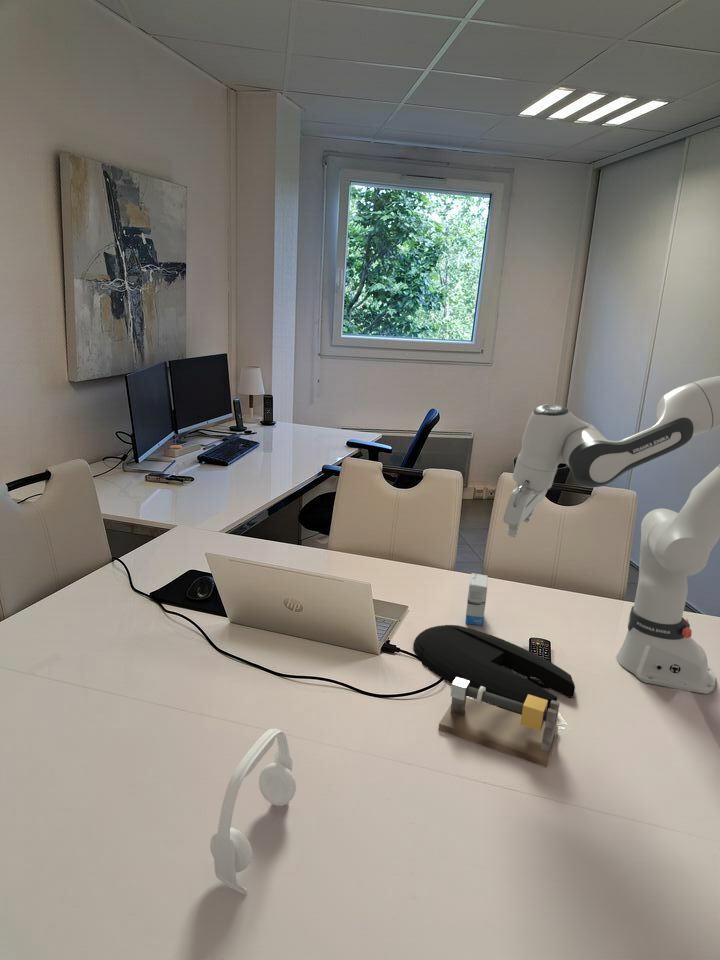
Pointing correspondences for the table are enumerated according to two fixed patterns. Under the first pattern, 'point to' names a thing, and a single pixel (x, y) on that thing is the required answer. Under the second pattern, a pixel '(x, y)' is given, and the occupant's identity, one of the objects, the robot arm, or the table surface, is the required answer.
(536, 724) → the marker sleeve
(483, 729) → the slider rail assembly
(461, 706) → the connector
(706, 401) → the robot arm
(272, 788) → the headset
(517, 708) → the dark grey rod
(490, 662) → the black u-shaped plate
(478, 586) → the ink box
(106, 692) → the table surface
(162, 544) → the table surface
